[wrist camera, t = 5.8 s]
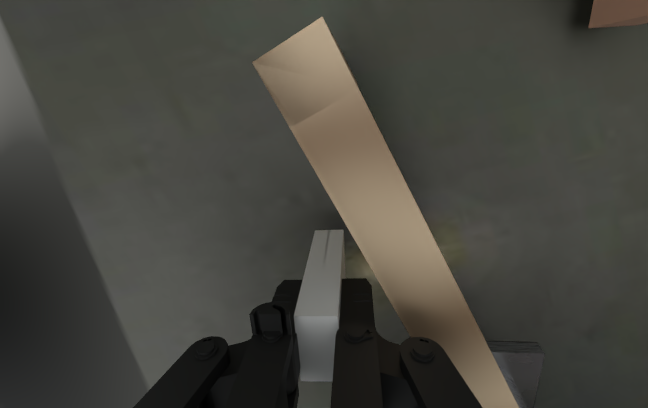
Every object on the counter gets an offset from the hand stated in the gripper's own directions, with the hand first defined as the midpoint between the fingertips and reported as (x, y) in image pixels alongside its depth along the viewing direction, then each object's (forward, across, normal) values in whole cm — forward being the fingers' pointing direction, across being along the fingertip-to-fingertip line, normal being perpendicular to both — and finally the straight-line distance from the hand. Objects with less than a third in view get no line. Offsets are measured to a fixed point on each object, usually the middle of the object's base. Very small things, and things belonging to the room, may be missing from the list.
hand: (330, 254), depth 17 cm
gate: (+3, -5, +1) cm, 5 cm away
